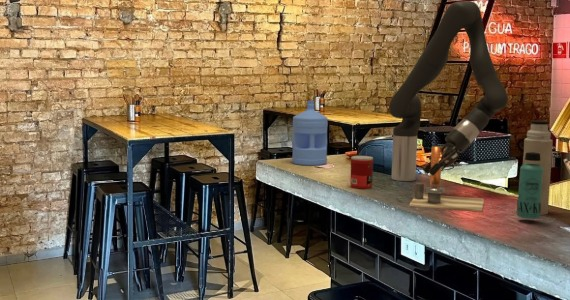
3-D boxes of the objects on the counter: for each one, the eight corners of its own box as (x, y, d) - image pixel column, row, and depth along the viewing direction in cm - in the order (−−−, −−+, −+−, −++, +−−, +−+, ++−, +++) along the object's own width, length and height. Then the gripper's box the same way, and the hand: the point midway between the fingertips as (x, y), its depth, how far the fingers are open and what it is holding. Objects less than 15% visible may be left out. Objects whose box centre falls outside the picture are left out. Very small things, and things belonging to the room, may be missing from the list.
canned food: (371, 189, 231) (372, 159, 230) (349, 188, 233) (349, 158, 231) (373, 185, 238) (373, 156, 237) (351, 184, 240) (352, 155, 239)
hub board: (416, 195, 221) (417, 179, 221) (484, 200, 214) (484, 183, 214) (409, 206, 204) (409, 188, 204) (482, 211, 197) (483, 193, 197)
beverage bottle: (512, 218, 189) (516, 150, 186) (534, 218, 189) (538, 150, 187) (522, 224, 182) (526, 154, 180) (544, 224, 183) (549, 154, 180)
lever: (443, 203, 204) (445, 153, 202) (424, 202, 206) (426, 152, 203) (443, 193, 220) (445, 146, 218) (425, 192, 222) (427, 146, 220)
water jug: (290, 160, 298) (290, 99, 295) (323, 160, 300) (324, 100, 296) (294, 166, 283) (295, 101, 279) (329, 165, 285) (331, 102, 281)
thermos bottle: (519, 208, 203) (525, 119, 200) (547, 210, 201) (553, 120, 197) (520, 213, 196) (525, 121, 192) (548, 215, 193) (554, 122, 190)
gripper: (445, 126, 225) (412, 162, 224) (465, 130, 211) (429, 168, 210) (459, 141, 226) (426, 176, 225) (479, 145, 213) (444, 183, 212)
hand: (428, 172), depth 218 cm, fingers closed on lever, 3 cm apart
